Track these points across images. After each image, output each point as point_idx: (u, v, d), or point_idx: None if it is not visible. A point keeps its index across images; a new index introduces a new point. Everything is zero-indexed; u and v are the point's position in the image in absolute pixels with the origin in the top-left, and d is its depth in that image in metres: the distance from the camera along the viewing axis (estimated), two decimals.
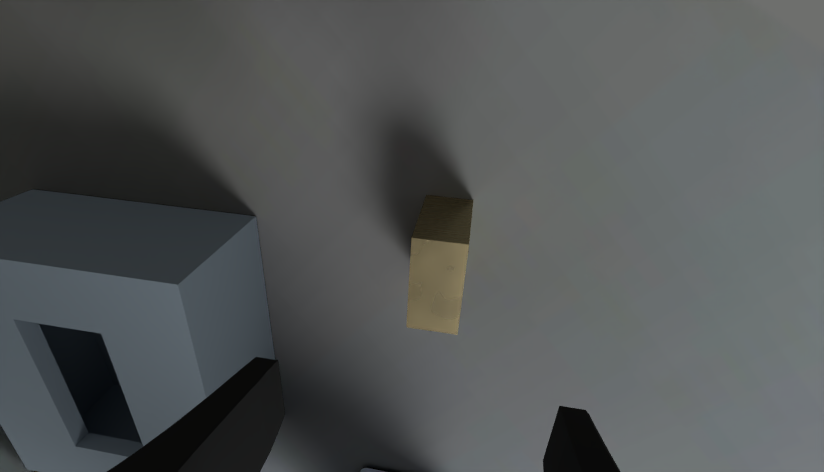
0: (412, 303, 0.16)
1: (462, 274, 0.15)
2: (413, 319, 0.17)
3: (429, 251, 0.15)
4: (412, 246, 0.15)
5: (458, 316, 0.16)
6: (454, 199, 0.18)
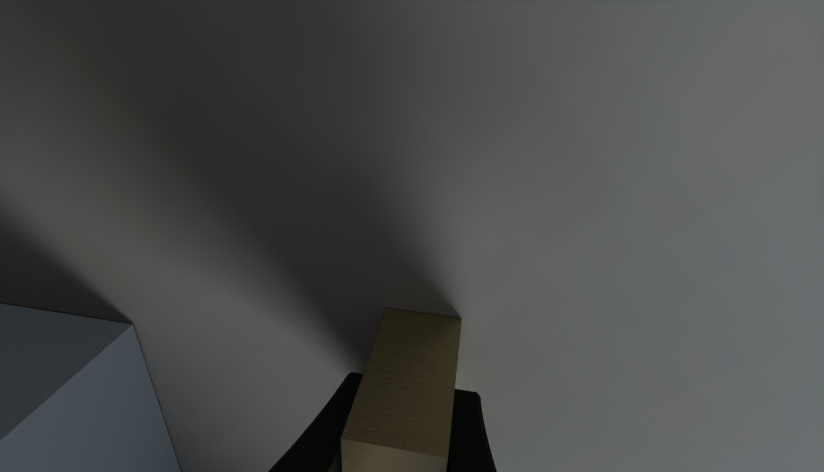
0: None
1: None
2: None
3: (375, 461, 0.08)
4: (343, 451, 0.08)
5: None
6: (430, 319, 0.11)
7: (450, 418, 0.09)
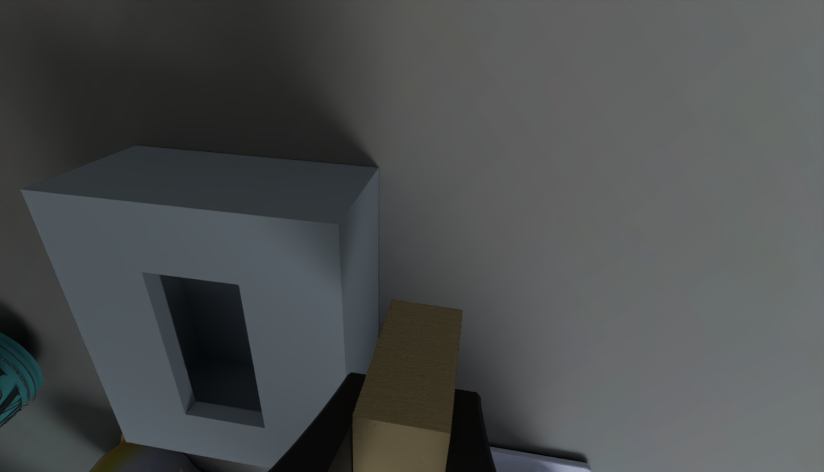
0: None
1: None
2: None
3: (383, 437, 0.09)
4: (354, 428, 0.09)
5: None
6: (433, 310, 0.12)
7: (452, 399, 0.09)
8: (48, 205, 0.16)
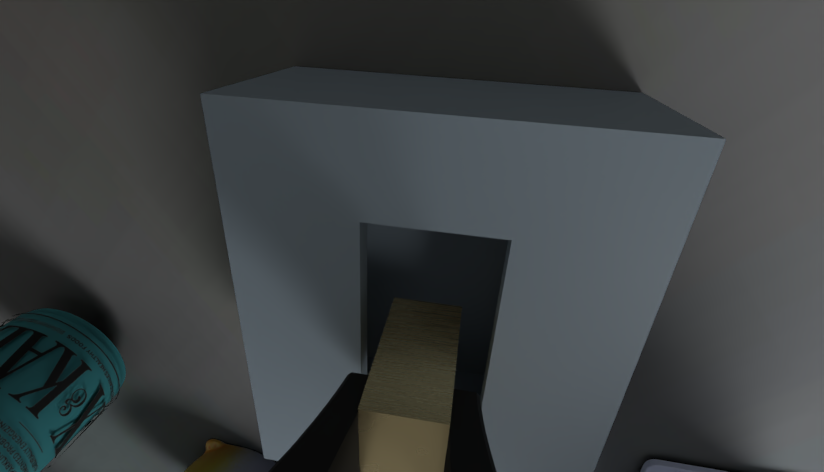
0: None
1: (441, 460, 0.10)
2: None
3: (387, 428, 0.09)
4: (360, 420, 0.09)
5: None
6: (434, 307, 0.12)
7: (452, 392, 0.10)
8: (238, 118, 0.11)
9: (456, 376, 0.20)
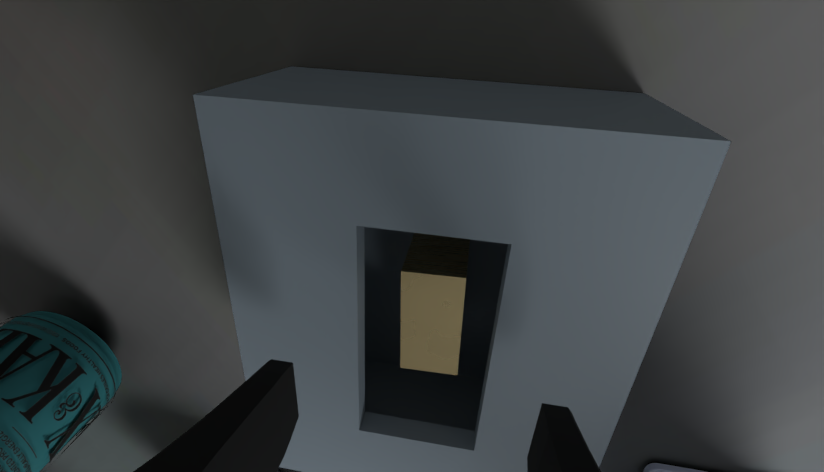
0: (405, 342, 0.15)
1: (460, 310, 0.14)
2: (407, 359, 0.15)
3: (421, 286, 0.13)
4: (402, 280, 0.13)
5: (457, 356, 0.14)
6: None
7: (466, 263, 0.14)
8: (232, 119, 0.10)
9: (455, 379, 0.20)
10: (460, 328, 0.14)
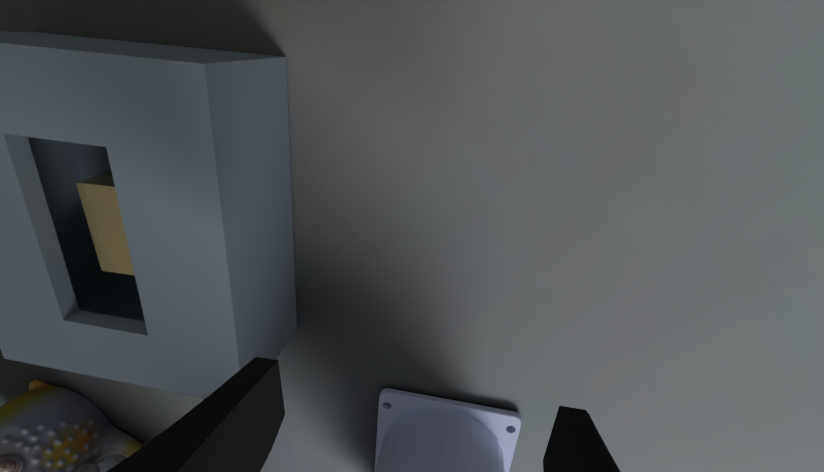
0: (98, 246, 0.18)
1: None
2: (104, 262, 0.19)
3: (93, 195, 0.17)
4: (79, 191, 0.17)
5: None
6: None
7: None
8: None
9: None
10: None
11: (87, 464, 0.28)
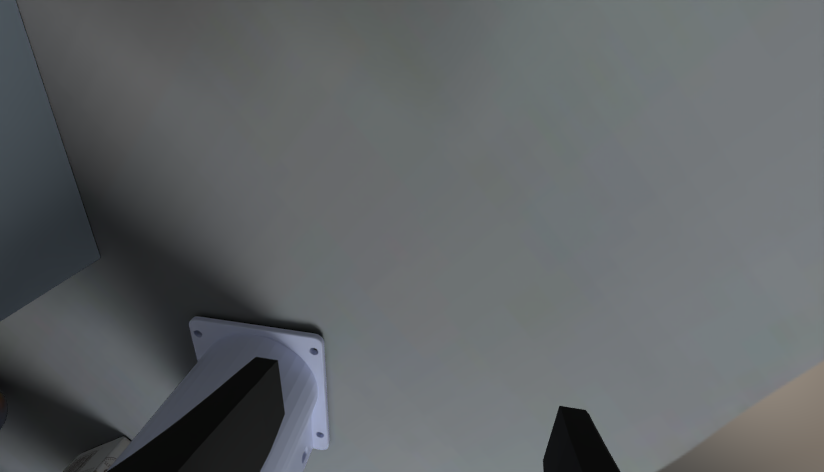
0: None
1: None
2: None
3: None
4: None
5: None
6: None
7: None
8: None
9: None
10: None
11: None
